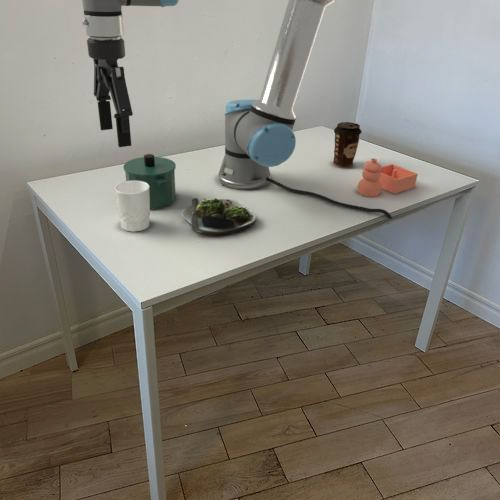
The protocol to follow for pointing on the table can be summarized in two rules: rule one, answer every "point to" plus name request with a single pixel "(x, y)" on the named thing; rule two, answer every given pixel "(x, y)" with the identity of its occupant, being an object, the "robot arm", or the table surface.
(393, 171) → the pottery
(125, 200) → the white cup
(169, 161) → the pot lid
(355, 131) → the coffee cup
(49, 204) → the table surface
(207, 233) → the salad plate
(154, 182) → the pot
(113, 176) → the table surface
